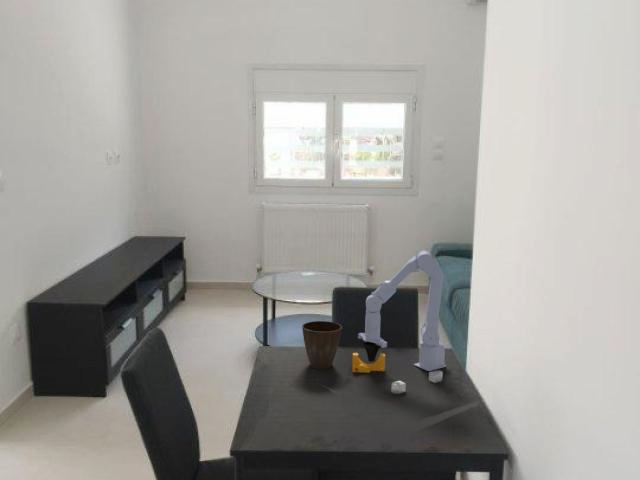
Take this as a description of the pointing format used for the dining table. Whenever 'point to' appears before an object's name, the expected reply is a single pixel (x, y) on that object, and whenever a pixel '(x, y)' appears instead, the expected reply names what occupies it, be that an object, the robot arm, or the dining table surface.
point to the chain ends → (401, 386)
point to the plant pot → (321, 342)
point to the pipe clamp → (368, 367)
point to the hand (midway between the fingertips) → (371, 360)
